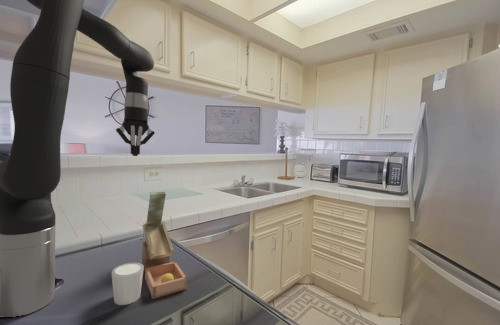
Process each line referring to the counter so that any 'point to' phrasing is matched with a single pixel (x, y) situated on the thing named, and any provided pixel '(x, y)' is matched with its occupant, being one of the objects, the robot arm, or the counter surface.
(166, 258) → the fulcrum
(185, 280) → the dish
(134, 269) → the white cylinder
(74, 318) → the counter surface
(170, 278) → the ball
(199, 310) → the counter surface
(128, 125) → the robot arm
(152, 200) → the ramp
